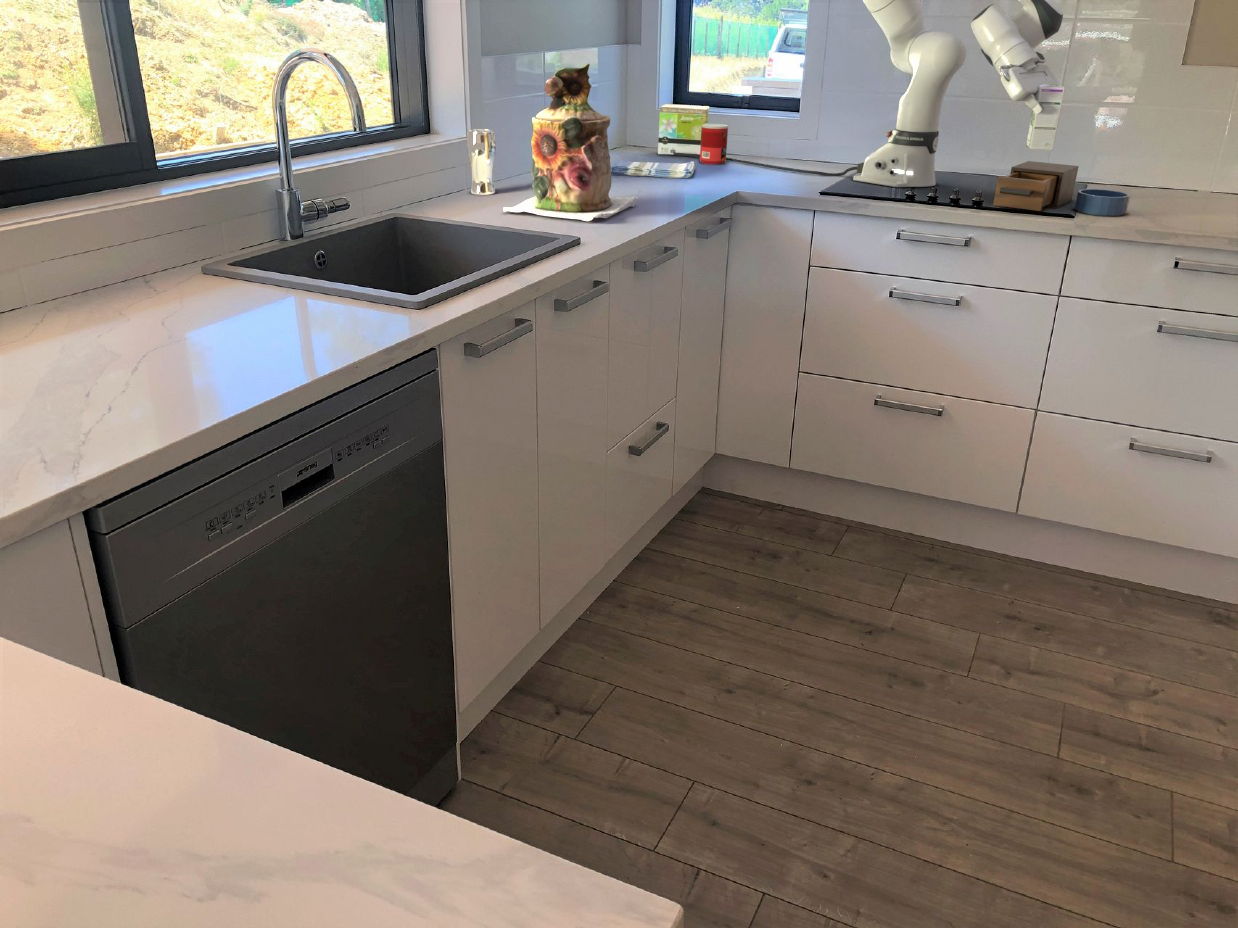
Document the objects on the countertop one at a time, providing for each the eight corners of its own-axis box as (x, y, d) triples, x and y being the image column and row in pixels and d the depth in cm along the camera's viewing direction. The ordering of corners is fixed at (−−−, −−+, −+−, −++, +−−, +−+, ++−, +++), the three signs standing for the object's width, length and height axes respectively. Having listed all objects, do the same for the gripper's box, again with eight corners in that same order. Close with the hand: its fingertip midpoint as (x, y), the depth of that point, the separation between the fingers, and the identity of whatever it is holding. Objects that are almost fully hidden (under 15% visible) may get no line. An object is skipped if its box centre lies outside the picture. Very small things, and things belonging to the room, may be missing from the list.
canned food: (726, 164, 306) (729, 126, 301) (700, 164, 306) (702, 126, 301) (724, 161, 313) (727, 124, 308) (699, 160, 313) (700, 123, 308)
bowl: (1069, 212, 246) (1072, 193, 244) (1081, 205, 254) (1084, 187, 253) (1119, 218, 240) (1124, 199, 238) (1130, 211, 248) (1134, 193, 246)
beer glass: (485, 189, 258) (483, 128, 252) (502, 193, 254) (501, 131, 248) (463, 192, 254) (461, 130, 248) (480, 196, 249) (478, 133, 243)
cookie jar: (547, 197, 250) (546, 58, 236) (640, 206, 241) (644, 63, 228) (499, 214, 229) (495, 63, 216) (598, 225, 221) (600, 68, 207)
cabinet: (1056, 208, 251) (1063, 172, 247) (1005, 201, 257) (1011, 167, 254) (1071, 200, 261) (1078, 166, 258) (1022, 194, 268) (1028, 161, 264)
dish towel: (692, 179, 280) (692, 169, 278) (608, 175, 283) (608, 165, 282) (697, 170, 295) (697, 160, 294) (618, 166, 298) (618, 156, 297)
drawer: (1035, 213, 238) (1041, 184, 236) (987, 207, 244) (992, 178, 242) (1056, 203, 251) (1061, 175, 249) (1009, 197, 257) (1014, 170, 255)
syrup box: (1053, 151, 242) (1067, 86, 236) (1027, 149, 243) (1040, 85, 237) (1049, 147, 247) (1062, 84, 241) (1024, 146, 248) (1036, 83, 242)
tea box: (657, 155, 321) (658, 106, 315) (661, 151, 330) (662, 103, 324) (704, 157, 319) (706, 108, 313) (706, 153, 328) (709, 105, 322)
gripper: (1008, 56, 234) (1040, 104, 232) (1046, 54, 247) (1077, 100, 245) (986, 75, 239) (1018, 123, 237) (1025, 72, 252) (1055, 117, 250)
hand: (1048, 111), depth 241 cm, fingers closed on syrup box, 7 cm apart
